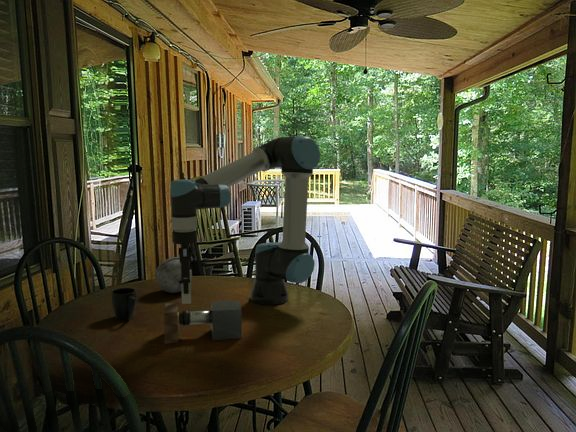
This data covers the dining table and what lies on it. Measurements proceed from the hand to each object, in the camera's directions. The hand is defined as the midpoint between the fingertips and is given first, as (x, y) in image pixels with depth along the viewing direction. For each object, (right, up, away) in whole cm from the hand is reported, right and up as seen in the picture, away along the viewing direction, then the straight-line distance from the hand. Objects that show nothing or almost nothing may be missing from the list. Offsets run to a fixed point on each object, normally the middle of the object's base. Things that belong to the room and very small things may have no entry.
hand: (186, 296), depth 140 cm
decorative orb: (-16, -7, +47) cm, 50 cm away
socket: (-5, -13, +1) cm, 14 cm away
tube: (+2, -9, +2) cm, 10 cm away
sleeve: (+12, -13, +4) cm, 18 cm away
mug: (-25, -11, +16) cm, 32 cm away
